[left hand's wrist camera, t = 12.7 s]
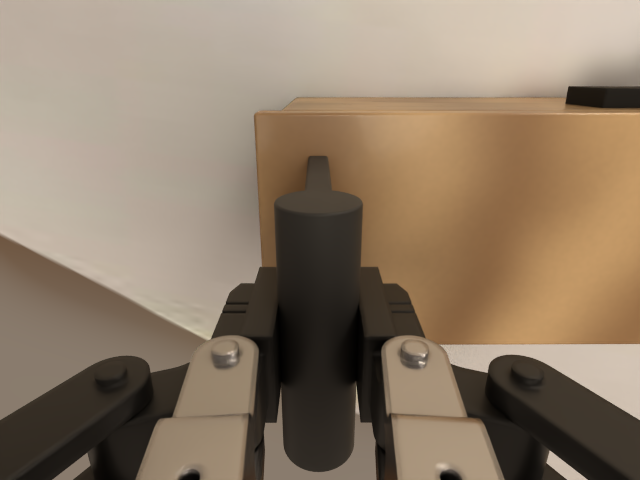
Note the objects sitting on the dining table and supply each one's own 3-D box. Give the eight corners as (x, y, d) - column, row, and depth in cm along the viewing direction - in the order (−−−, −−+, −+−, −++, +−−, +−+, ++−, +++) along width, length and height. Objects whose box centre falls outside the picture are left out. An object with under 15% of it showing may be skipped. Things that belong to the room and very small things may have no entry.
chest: (298, 249, 28) (288, 327, 19) (296, 97, 24) (281, 109, 16) (538, 250, 28) (634, 328, 19) (569, 97, 24) (702, 110, 16)
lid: (268, 330, 19) (234, 509, 11) (257, 110, 16) (197, 146, 8) (635, 329, 19) (855, 506, 11) (703, 110, 16) (1086, 146, 8)
